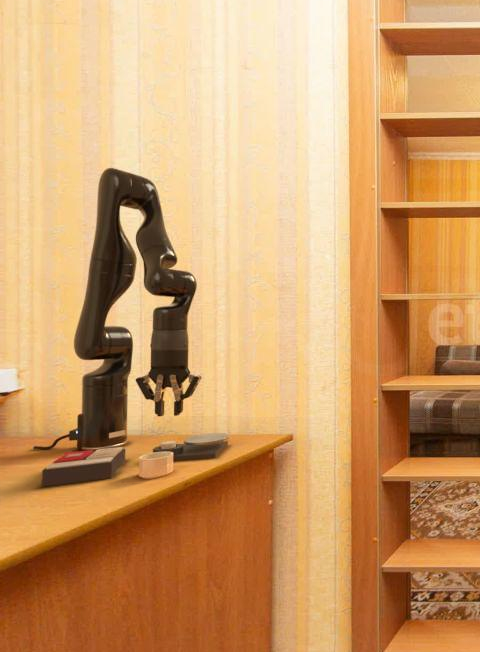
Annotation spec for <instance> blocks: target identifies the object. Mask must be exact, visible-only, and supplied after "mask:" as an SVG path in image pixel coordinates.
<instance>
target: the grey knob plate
mask: <svg viewBox="0 0 480 652" xmlns="http://www.w3.org/2000/svg"><path fill="white" fill-rule="evenodd" d="M228 446H229V440H225V441H221V442H218V443H212V444H205V445H188V444H184V443H176V447H175V448H170V449H161V445H157V446H155V447H153V448H152V453H155V452H173V462H181V461H182V462H183V461H184V462H185V461H196V460H211V459H216V458H217V457H218V456H219V455H220V454H221V453H222V452H223V451H224V450H225V449H226V448H227V447H228Z"/></svg>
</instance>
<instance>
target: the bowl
mask: <svg viewBox="0 0 480 652" xmlns="http://www.w3.org/2000/svg"><path fill="white" fill-rule="evenodd" d="M173 471H174V461H173V452H155V453H153V452H149V453H146V454H142V455H141V456H139V457H138V477H140V478H142V479H147V480H149V479H158V478H162V477H165V476H168V475H169V474H170V473H172V472H173Z"/></svg>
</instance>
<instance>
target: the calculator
mask: <svg viewBox="0 0 480 652" xmlns="http://www.w3.org/2000/svg"><path fill="white" fill-rule="evenodd" d="M125 461H126V448H123V446H120V447H117V448H108V449H98V450H96V451H94V450H88V451H84V450H78V451H69V452H66V453H65V454H62V456H60V457H58V458H57V459H55V460H54V461H53V462H52V463H51V464H49V465H48V466H46V467H45V468H43V469H42V471H41V472H42V473H41V487H42V488H45V487H46V488H47V487H54V486H61V485H70V484H78V483H84V482H92V481H93V482H94V481H99V480H106V479H112V478H113V477H114V476H115V475H116V472H117V470H118V469H119V468H120V467H121V465H123V464H124V462H125Z"/></svg>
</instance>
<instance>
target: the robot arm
mask: <svg viewBox="0 0 480 652" xmlns="http://www.w3.org/2000/svg"><path fill="white" fill-rule="evenodd" d="M96 203H97V204H96V221H95V231H94V236H93V237H94V238H93V244H92V249H91V252H90V253H91V254H90V259H89V265H88V273H87V274H88V275H87V282H86V288H85V289H86V290H85V295H84V299H83V304H82V308H81V311H80V315H79V319H78V322H77V326H76V329H75V333H74V337H73V349H74V353H75V355H76V356H77V358H78V359H80V360H82V361H103V362H102V364H101V365H100V366H99V367H97V368H96V369H94V370H92V371H90V372H87V373H85V374H83V376H82V377H81V413H79V414H77V416H76V417H77V423H76V428H73V429H71V430H69V431H68V434H65V435H61V436H59V437H57V438H56V439H55V440H54V441H53V443H52V444H51V445H49V446H42V445H41V446H38V445H34V446H33V447H32V449H33V450H51V449H53V448H55V447H56V446H57V444H58V443H59V442H60V441H61V440H65V439H66V438H68V441H76V451H88V450H94V452H95V451H96V450H98V449H108V448H117V447H123V446H126V445H127V444H128V401H129V400H128V398H129V396H128V395H129V393H128V392H129V377H130V375H131V371H132V361H133V352H134V350H133V349H134V339H133V335H132V333H131V330H129V328H127V327H125V326H122V325H106V321H107V318H108V315H109V314H110V311H111V309H112V308H113V305H115V304H116V303H117V301H119V299H121V298H122V297H123V296H124V294H125V293H126V292H127V291H128V290H129V289H130V287H131V286H132V284H133V283H134V281H135V275H136V271H137V263H138V257H137V253H136V251H135V249H134V246H133V245H132V244H131V242H130V240H129V238H128V237H127V235H126V233H125V231H124V229H123V226H122V222H121V207H122V208H123V207H124V208H127V209H132V210H138V211H139V212H140V213H141V215H142V217H143V219H142V220H143V221H142V223H141V224H140V226H139V227H138V229H137V231H136V234H135V244H136V247H137V250H138V252H139V254H140V256H141V259H142V263H143V287H144V289H145V290H146V291H147V292H148V293H149V294H150V295H152V296H155V297H166V298H173V299H172V302H171V303H170V304H168V305H162V306H157V307H155V308H154V309H153V312H152V333H151V338H150V369H149V371H148V373H147V374H145V375H142V376H139V377H136V378H135V382H136V385H137V387H138V388H139V390H140V391H141V394H142V395H143V397H144V398H145V400H149V401H153V402H154V415H157V417H163V416H164V415H165V400H164V397H165V392H166V391H167V388H171V389H172V393H173V397H174V400H175V401H173V417H178V416H180V415H181V414H182V413H183V411H184V400H186V399H189V398H190V397H191V398H192V396H193V394H194V392H195V391H196V389H197V387H198V385H199V383H200V382H201V380H202V378H203V377H202V375H196V374H193V373H191V371H190V369H189V342H190V341H189V332H188V329H189V327H188V325H189V324H188V321H189V312H190V309H191V307H192V302H193V300H194V297H195V295H196V293H197V289H198V288H197V287H198V282H197V279H196V277H195V275H194V274H193V273H192V272H190V271H187V270H181V269H173V268H174V267H175V266H176V265H177V264H178V256H177V254H176V251H175V249H174V246H173V244H172V242H171V240H170V237H169V234H168V232H167V229H166V225H165V224H166V223H165V219H164V215H163V210H162V209H163V208H162V205H161V200H160V195H159V191H158V189H157V186H156V185H155V183H154V182H153V181H152V180H151V179H149V178H147V177H144V176H141V175H138V174H135V173H132V172H128V171H125V170H121V169H118V168H114V167H107V168H106V169H104V170H103V172H102V173H101V175H100V178H99V181H98V186H97V200H96ZM187 379H188V383H189V385H188V386H187V388H186V390H185V392H184V382H186V380H187ZM151 381H152V382H153V383H154V385H155V388H154V390H153V388H152V387H151V385H150V382H151Z"/></svg>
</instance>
